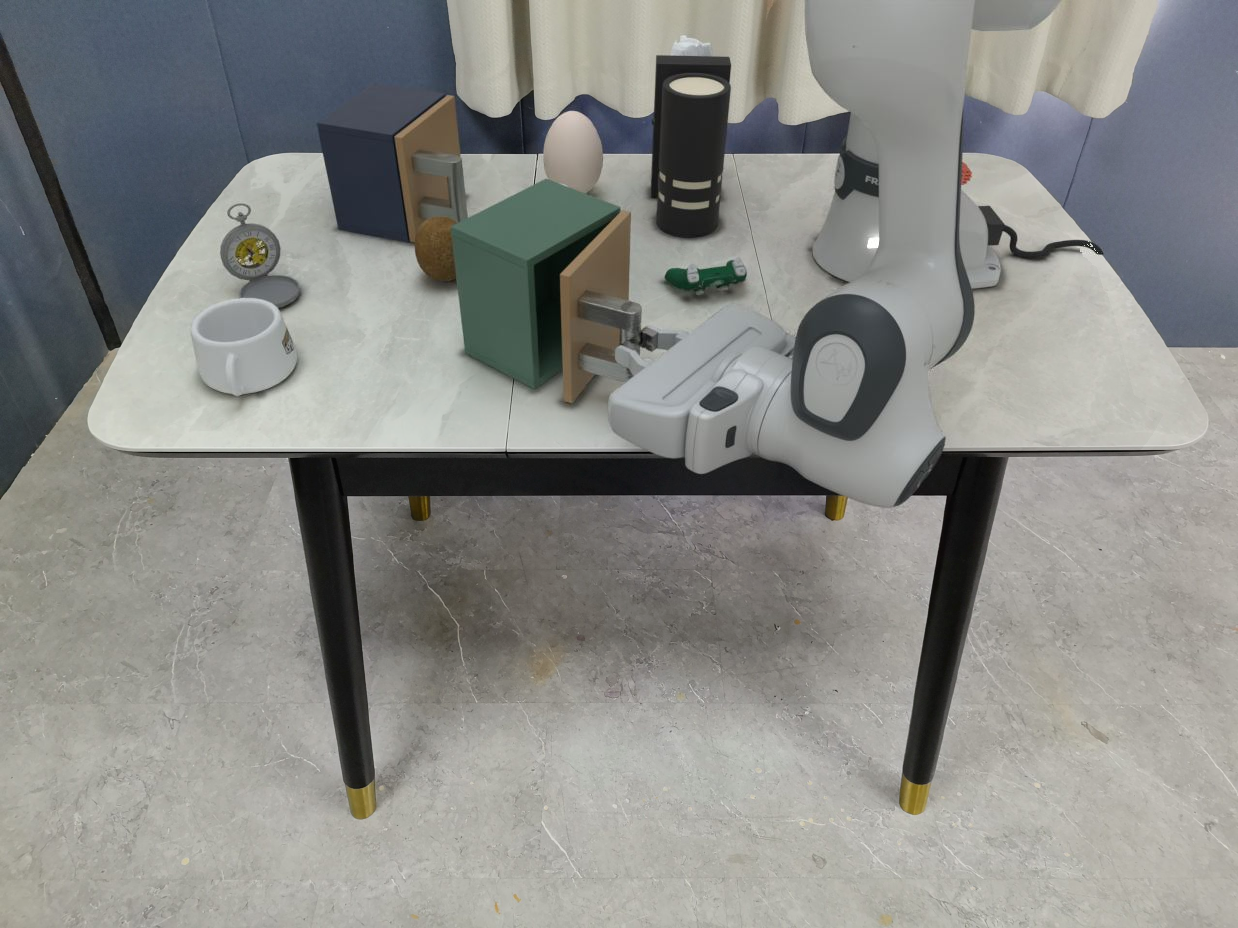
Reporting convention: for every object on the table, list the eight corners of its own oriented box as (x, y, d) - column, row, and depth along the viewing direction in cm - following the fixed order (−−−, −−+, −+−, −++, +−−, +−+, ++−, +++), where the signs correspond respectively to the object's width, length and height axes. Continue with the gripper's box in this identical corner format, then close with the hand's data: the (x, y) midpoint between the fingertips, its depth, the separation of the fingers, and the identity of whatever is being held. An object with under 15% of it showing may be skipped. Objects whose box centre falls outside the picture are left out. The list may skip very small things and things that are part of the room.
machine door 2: (678, 347, 100) (687, 224, 90) (627, 420, 91) (630, 292, 81) (619, 331, 102) (622, 209, 92) (563, 401, 93) (559, 274, 83)
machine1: (456, 195, 126) (445, 93, 117) (408, 242, 116) (391, 135, 107) (391, 184, 128) (375, 83, 119) (338, 229, 118) (316, 122, 109)
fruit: (469, 293, 108) (462, 230, 102) (415, 293, 107) (405, 230, 102) (474, 266, 112) (468, 204, 107) (423, 265, 112) (414, 204, 107)
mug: (210, 345, 99) (194, 297, 95) (303, 339, 100) (291, 291, 96) (188, 416, 90) (169, 365, 86) (290, 408, 91) (276, 358, 87)
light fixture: (650, 237, 118) (656, 96, 106) (648, 188, 128) (654, 55, 116) (726, 238, 118) (741, 98, 106) (719, 190, 128) (731, 56, 116)
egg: (597, 211, 123) (597, 126, 116) (539, 206, 124) (535, 121, 116) (607, 185, 129) (608, 103, 121) (551, 180, 130) (548, 98, 122)
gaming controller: (667, 303, 110) (681, 291, 104) (661, 272, 110) (675, 258, 104) (739, 292, 112) (757, 280, 106) (734, 262, 112) (751, 248, 106)
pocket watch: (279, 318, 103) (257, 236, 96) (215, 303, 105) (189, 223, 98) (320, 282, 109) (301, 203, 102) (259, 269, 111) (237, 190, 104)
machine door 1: (505, 203, 124) (498, 102, 115) (460, 251, 114) (448, 145, 105) (458, 195, 126) (447, 94, 117) (409, 241, 116) (394, 136, 107)
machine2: (618, 331, 102) (620, 207, 92) (534, 389, 94) (526, 260, 84) (550, 299, 107) (546, 178, 97) (464, 353, 99) (450, 226, 89)
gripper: (818, 318, 86) (695, 269, 92) (693, 427, 73) (561, 363, 79) (808, 373, 90) (690, 323, 96) (688, 485, 78) (562, 420, 84)
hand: (630, 342), depth 88 cm, fingers closed on machine door 2, 2 cm apart
